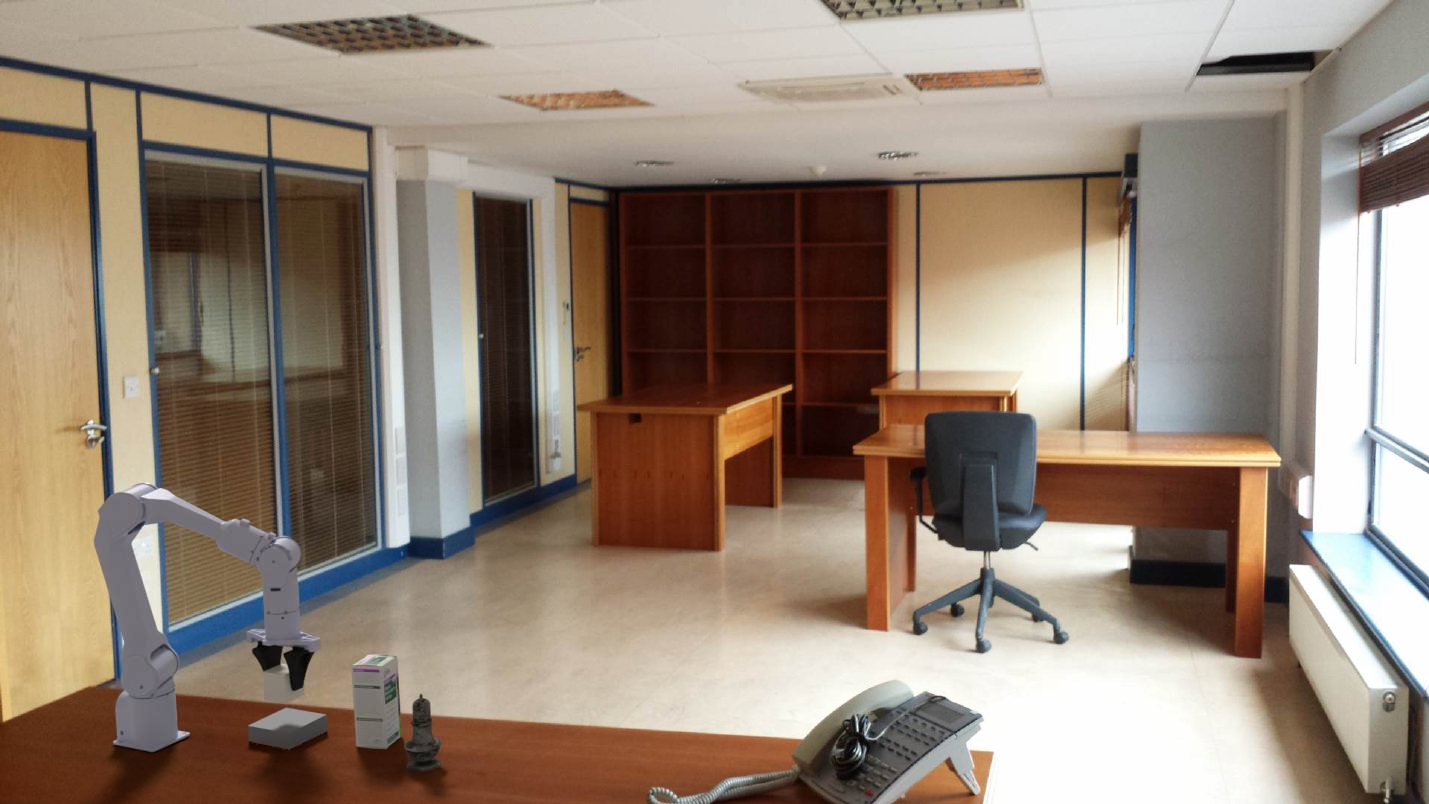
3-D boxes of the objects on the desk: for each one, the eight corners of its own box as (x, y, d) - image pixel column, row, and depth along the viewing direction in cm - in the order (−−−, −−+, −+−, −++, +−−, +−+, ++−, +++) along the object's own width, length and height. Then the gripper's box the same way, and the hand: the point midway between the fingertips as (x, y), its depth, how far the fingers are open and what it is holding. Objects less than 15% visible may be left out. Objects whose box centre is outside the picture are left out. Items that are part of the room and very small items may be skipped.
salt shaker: (449, 760, 193) (446, 689, 192) (429, 774, 188) (426, 701, 187) (418, 755, 195) (415, 685, 194) (397, 770, 190) (394, 697, 188)
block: (248, 742, 201) (247, 725, 201) (286, 724, 210) (286, 707, 209) (290, 750, 198) (289, 733, 198) (327, 731, 206) (326, 714, 206)
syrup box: (386, 749, 198) (383, 665, 196) (354, 747, 199) (350, 663, 197) (402, 736, 203) (399, 654, 202) (370, 734, 205) (367, 653, 203)
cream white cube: (264, 700, 201) (262, 671, 201) (284, 691, 206) (282, 663, 205) (285, 703, 200) (283, 675, 199) (304, 694, 204) (303, 666, 203)
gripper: (231, 611, 200) (235, 689, 202) (298, 620, 195) (302, 700, 196) (262, 600, 207) (266, 676, 208) (327, 609, 201) (331, 686, 203)
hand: (285, 687), depth 203 cm, fingers closed on cream white cube, 5 cm apart
